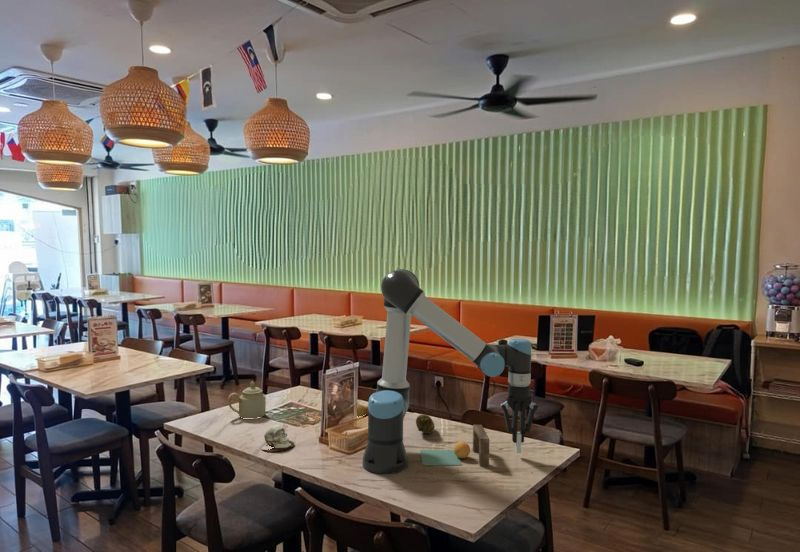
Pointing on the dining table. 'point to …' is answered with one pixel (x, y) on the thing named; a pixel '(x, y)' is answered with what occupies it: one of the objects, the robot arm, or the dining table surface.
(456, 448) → the ball
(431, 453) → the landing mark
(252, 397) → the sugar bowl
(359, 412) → the croissant
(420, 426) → the dark green avocado
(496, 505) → the dining table surface
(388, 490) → the dining table surface
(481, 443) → the bridge
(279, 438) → the skull
